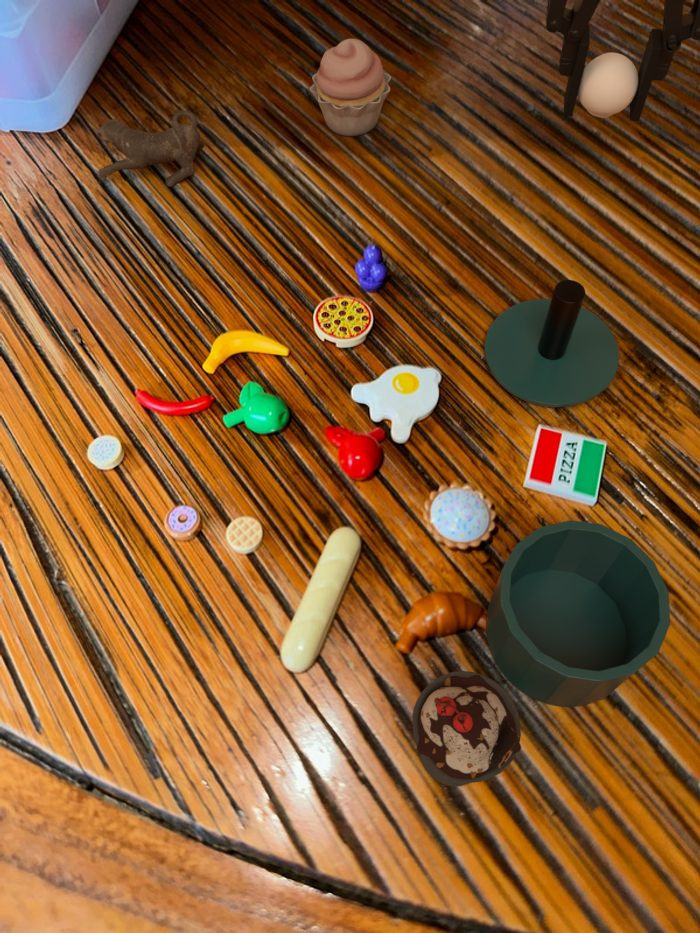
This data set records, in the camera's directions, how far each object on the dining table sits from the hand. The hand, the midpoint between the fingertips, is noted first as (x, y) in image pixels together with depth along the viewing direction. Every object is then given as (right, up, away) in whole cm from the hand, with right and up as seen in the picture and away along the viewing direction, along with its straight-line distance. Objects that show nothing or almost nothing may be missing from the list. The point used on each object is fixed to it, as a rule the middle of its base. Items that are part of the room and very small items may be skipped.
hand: (601, 108), depth 67 cm
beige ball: (0, 0, 0) cm, 1 cm away
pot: (-6, -45, -7) cm, 46 cm away
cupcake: (-22, +9, +23) cm, 33 cm away
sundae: (-15, -53, -11) cm, 56 cm away
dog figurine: (-44, +2, +20) cm, 49 cm away
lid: (-3, -21, +5) cm, 22 cm away
